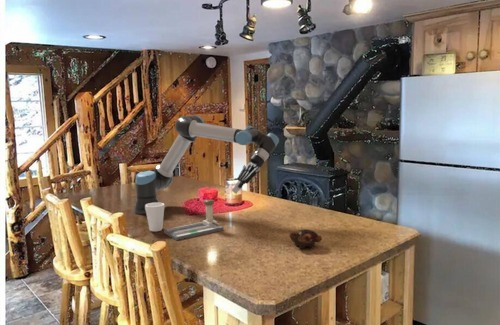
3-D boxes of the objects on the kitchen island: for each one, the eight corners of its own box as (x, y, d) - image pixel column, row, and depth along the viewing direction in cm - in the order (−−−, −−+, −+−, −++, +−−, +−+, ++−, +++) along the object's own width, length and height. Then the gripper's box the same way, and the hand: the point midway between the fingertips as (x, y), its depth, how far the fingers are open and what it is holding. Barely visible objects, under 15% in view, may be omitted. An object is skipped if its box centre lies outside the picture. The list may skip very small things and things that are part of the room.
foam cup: (146, 233, 202) (145, 207, 200) (146, 227, 211) (144, 203, 209) (166, 231, 205) (164, 206, 203) (164, 226, 213) (163, 201, 212)
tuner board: (164, 233, 202) (163, 227, 201) (210, 223, 217) (209, 218, 216) (176, 240, 190) (175, 234, 190) (223, 229, 205) (223, 224, 205)
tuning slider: (202, 224, 209) (201, 200, 208) (211, 222, 212) (210, 198, 210) (213, 229, 200) (212, 204, 199) (222, 227, 203) (221, 202, 202)
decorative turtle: (284, 246, 180) (285, 228, 180) (313, 243, 186) (314, 226, 186) (295, 252, 171) (296, 233, 171) (325, 249, 178) (326, 230, 177)
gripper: (248, 152, 225) (223, 185, 218) (262, 154, 215) (236, 189, 208) (256, 161, 229) (231, 194, 222) (270, 163, 218) (245, 198, 211)
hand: (234, 192), depth 215 cm, fingers closed
